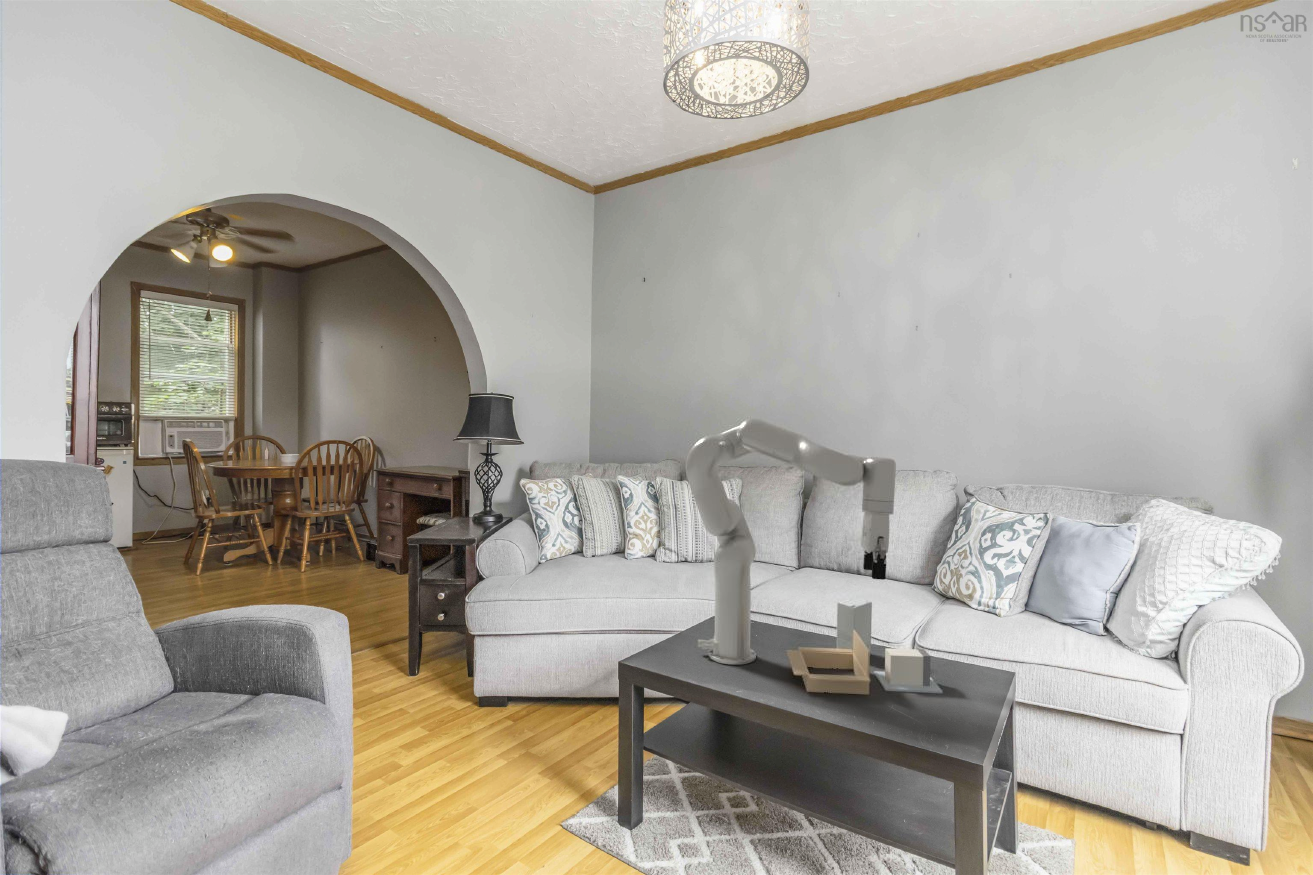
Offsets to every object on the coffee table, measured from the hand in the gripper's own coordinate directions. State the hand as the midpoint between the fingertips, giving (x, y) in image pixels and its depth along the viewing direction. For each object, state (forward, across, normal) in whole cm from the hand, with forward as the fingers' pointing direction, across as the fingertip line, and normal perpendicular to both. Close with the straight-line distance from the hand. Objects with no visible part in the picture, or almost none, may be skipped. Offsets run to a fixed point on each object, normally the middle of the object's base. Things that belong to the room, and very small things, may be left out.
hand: (873, 574), depth 166 cm
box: (+24, +6, +8) cm, 26 cm away
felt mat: (+25, +6, +8) cm, 27 cm away
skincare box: (+26, -12, -1) cm, 28 cm away
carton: (+25, +6, -11) cm, 29 cm away
